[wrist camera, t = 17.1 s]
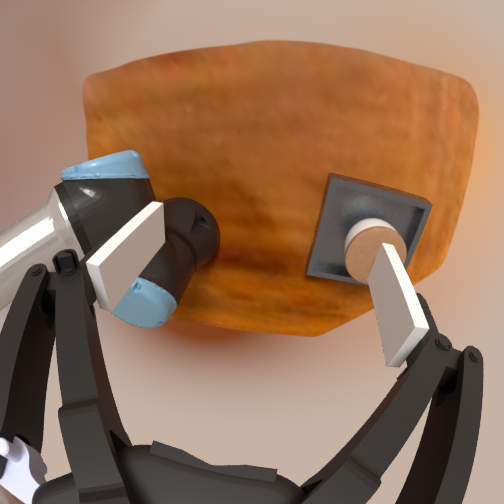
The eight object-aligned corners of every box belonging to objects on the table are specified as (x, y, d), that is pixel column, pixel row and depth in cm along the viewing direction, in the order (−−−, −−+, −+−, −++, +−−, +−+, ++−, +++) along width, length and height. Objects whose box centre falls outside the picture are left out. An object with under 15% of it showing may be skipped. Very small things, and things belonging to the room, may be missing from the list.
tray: (306, 265, 54) (306, 274, 51) (329, 172, 43) (331, 177, 41) (392, 281, 52) (395, 290, 50) (426, 198, 42) (432, 204, 39)
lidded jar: (404, 224, 44) (421, 251, 36) (374, 267, 50) (384, 298, 42) (358, 198, 44) (370, 222, 36) (329, 246, 49) (333, 276, 42)
